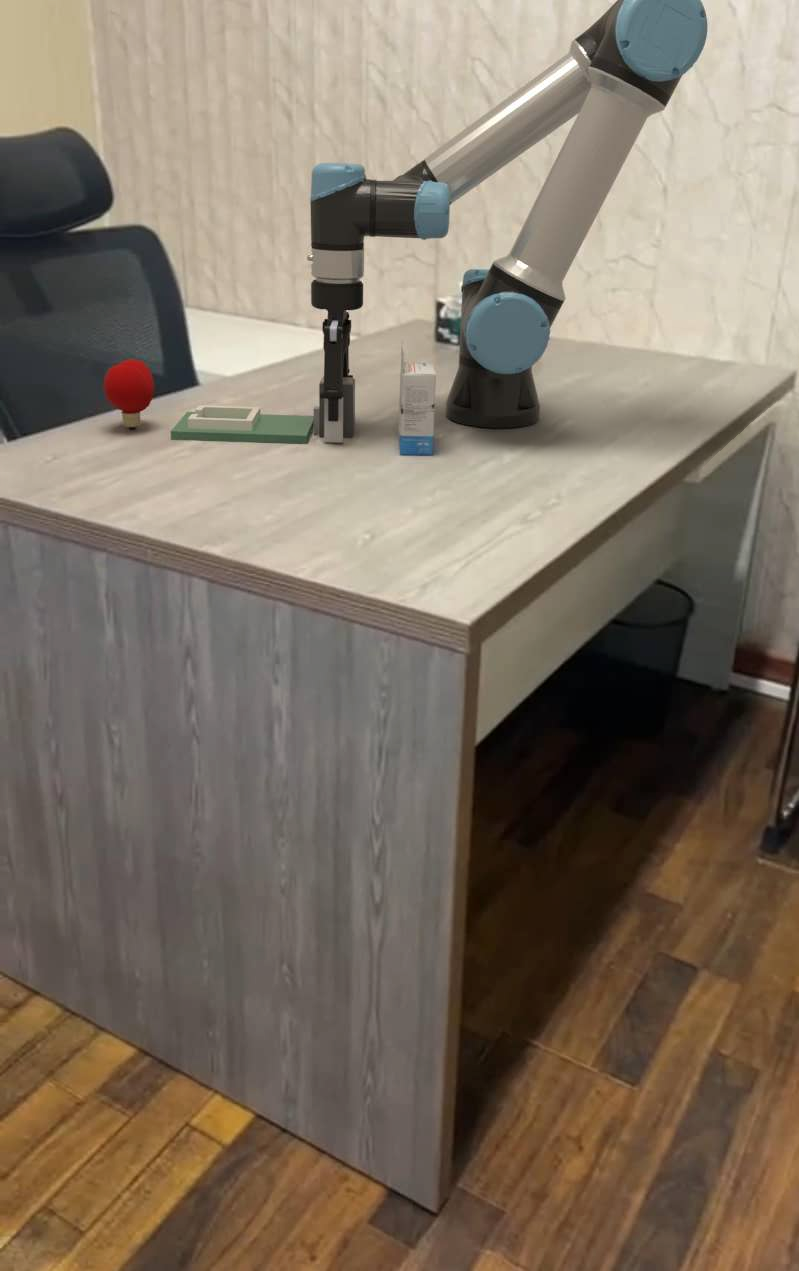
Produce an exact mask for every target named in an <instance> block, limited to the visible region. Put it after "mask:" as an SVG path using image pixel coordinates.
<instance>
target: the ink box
mask: <svg viewBox="0 0 799 1271" xmlns="http://www.w3.org/2000/svg"><path fill="white" fill-rule="evenodd" d="M405 352H406V351H405V345H404V341H401V353H400V354H401V356H400V357H401V358H400V375H399V376H400V378H399V379H400V380H399V381H400V382H399V405H398V408H399V410H398V411H399V412H398V435H397V436H398V441H397V442H398V451H399V455H401V456H402V455H404V456H406V455H409V456H410V455H411V456H433V454H434V435H435V433H434V430H435V412H436V411H435V408H436V387H437V386H436V384H437V381H436V379H437V374H436V368H435V365H434V363H433V362H418V361H417V362H416V361H415V362H410V361H409V362H406V361H405V356H406V355H405Z"/></svg>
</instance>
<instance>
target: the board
mask: <svg viewBox="0 0 799 1271" xmlns="http://www.w3.org/2000/svg"><path fill="white" fill-rule="evenodd" d="M313 430H314V415H295V414H293V415H292V414H264V413H261V407H260V406H258V407H257V406H234V405H233V406H231V405H229V406H227V405H204V404H203V405H198V406H197V407H196V408H195V409H194V411H186V413H184V415H183V416H182V417H181V419H179V421H178V422H177V423H176V425H175V426H174V427H173V428H172V429H171V430H170V440H183V441H212V442H213V441H214V442H215V441H216V442H218V441H219V442H246V443H268V444H269V443H273V444H299V445H307V444H308V442H309V440H310V436H311V433H313Z"/></svg>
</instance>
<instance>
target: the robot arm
mask: <svg viewBox="0 0 799 1271" xmlns="http://www.w3.org/2000/svg"><path fill="white" fill-rule="evenodd" d="M706 13H707V12H706V9H705V6H704V4H703V2H702V0H616V1H615V2H614V3H613V4H612V5H611V6H610V7H609V9H607V10H606V11H605V12H604V13H603V15H602V16H600V18H599V19H597V20H596V21H595V22H594V23H593V24H592V25H591V26H590V27H589V28H587V29H586V30H585V31H584V32H583V33H581V34H580V35H578V37H575V39H573V40H572V41H571V43H570V48H569V52H567V53H566V54H565V55H564V56H562V57H561V58H560V59H558V60H557V61H555V62H554V63H553V64H551V65H550V66H549V67H548V68H546V69H544V70H543V71H542V72H540V73H539V74H537V76H535V77H534V78H533V79H531V80H530V81H528V82H527V83H525V85H523V86H521V87H520V88H519V89H518V90H516V91H515V92H514V93H512V94H511V95H508V97H507V98H505V99H504V100H503V101H501V102H500V103H498V104H497V105H496V106H495V107H493V108H491V110H489V111H487V112H486V113H485V114H484V115H482V116H481V117H480V118H478V119H477V120H475V121H474V122H472V123H471V124H470V125H468V126H467V127H466V128H464V129H463V130H462V131H461V132H459V133H458V134H456V135H455V136H454V137H452V138H451V139H449V140H448V141H447V142H446V143H444V144H443V145H441V146H440V147H439V148H437V149H436V150H434V152H432V153H430V154H429V155H428V156H426V157H425V158H424V159H422V161H420V162H419V163H417V164H416V165H414V166H413V167H411V168H410V169H409V170H407V171H406V172H404V174H401V175H398V176H397V177H396V178H394V179H393V180H377V179H370V178H367V175H366V169H365V166H363V165H362V164H360V163H347V162H346V163H345V162H344V163H342V162H341V163H340V162H323V163H318V164H316V165H315V166H314V167H313V169H312V171H311V180H310V181H311V184H310V198H309V199H310V200H309V201H310V204H309V205H310V246H311V253H307V256H306V260H307V261H308V262H312V263H311V270H310V271H311V276H312V277H314V278H315V279H313V280H312V281H311V283H310V301H311V302H310V303H311V306H312V307H313V308H315V309H317V310H318V309H319V310H326V311H327V318H324V319H323V321H322V330H321V331H322V333H323V334H322V335H323V345H322V348H323V352H324V357H323V358H324V360H323V361H324V362H323V363H324V364H323V376H324V390H323V393H319V392H318V394H319V397H320V398H323V399H324V437H323V441H324V443H338V444H339V443H341V444H342V443H343V442H344V438H343V398H342V397H343V393H342V383H343V377H353V378H354V375H351V374H350V368H349V366H350V365H349V364H350V363H349V362H350V360H349V359H350V358H349V354H350V352H349V350H350V349H349V347H350V344H351V332H352V319H350V313H349V311H355V310H356V311H357V310H360V309H362V308H363V305H364V283H363V282H362V281H361V280H360V279H362V278H363V277H364V276H365V243H364V242H365V237H370V238H375V237H382V238H401V239H403V238H404V239H406V238H407V239H421V240H422V241H426V240H429V239H443V238H445V237H446V236H447V235H448V233H449V227H450V211H451V210H450V208H451V205H452V204H453V203H455V202H456V201H457V200H459V199H460V198H462V197H463V196H464V195H466V194H468V193H469V192H470V191H471V190H473V189H474V188H475V187H477V186H478V185H480V184H481V183H483V182H484V181H485V180H487V179H488V178H490V177H491V176H492V175H494V174H496V173H497V172H498V171H500V170H501V169H502V168H504V167H505V166H507V165H508V164H510V163H511V162H513V160H515V159H517V158H518V157H519V156H520V155H521V156H522V154H524V153H525V152H527V151H528V150H529V149H531V148H532V147H534V146H536V145H537V143H539V142H540V141H542V140H543V139H545V138H546V137H548V136H549V135H551V134H552V133H553V132H554V131H556V130H557V129H558V128H560V127H562V126H563V125H564V124H566V123H567V122H568V121H570V120H571V119H573V118H574V117H575V120H574V122H573V124H572V126H571V128H570V130H569V132H568V135H566V138H565V140H564V142H563V144H562V147H561V148H560V151H559V152H558V154H557V157H556V159H555V160H554V162H553V163H552V166H551V168H550V171H549V173H548V174H547V177H546V178H545V181H544V183H543V185H542V187H541V189H540V191H539V193H538V195H537V197H536V199H535V200H534V203H533V205H532V207H531V209H530V211H529V213H528V215H527V217H526V219H525V221H524V223H523V225H522V227H521V230H520V231H519V233H518V235H517V237H516V239H515V241H514V244H513V245H512V247H511V249H510V252H509V253H508V254H507V255H506V256H502V257H501V258H498V259H495V260H493V262H492V263H491V266H490V267H489V269H487V268H485V269H483V268H482V269H481V268H479V269H478V268H477V269H476V268H475V269H474V268H472V269H468V270H466V271H465V272H464V274H463V276H462V278H463V279H462V284H461V286H460V291H461V306H460V307H461V311H460V328H459V329H460V332H459V333H460V334H459V335H460V336H459V357H458V368H457V372H456V374H455V377H454V380H453V382H452V384H451V387H450V390H449V393H448V396H447V398H446V401H445V402H446V403H445V416H446V417H448V418H447V419H449V420H451V421H453V422H456V423H458V424H461V425H466V426H473V427H479V428H480V427H481V428H493V429H494V428H497V429H498V428H500V429H506V428H509V429H510V428H520V427H526V426H530V425H533V424H535V423H537V422H539V420H540V413H541V412H540V410H541V405H540V400H539V397H538V392H537V391H538V390H537V388H536V384H535V379H534V375H533V366H534V365H535V364H536V363H537V362H538V361H540V359H541V357H542V356H543V354H544V353H545V351H546V349H547V347H548V344H549V340H550V334H551V328H552V325H553V324H554V322H555V320H556V318H557V316H558V314H559V313H560V310H561V308H562V306H563V304H564V302H565V301H566V298H567V297H566V294H565V290H564V286H563V282H564V280H565V278H566V275H567V273H568V272H569V271H570V268H571V266H572V264H573V262H574V260H575V258H576V257H577V255H578V252H579V250H580V248H581V246H582V245H583V243H584V241H585V239H586V237H587V235H588V234H589V232H590V229H591V227H592V225H593V223H594V222H595V220H596V218H597V216H598V214H599V212H600V209H602V206H603V204H604V202H605V200H606V198H607V196H608V195H609V192H610V191H611V189H612V187H613V185H614V183H615V181H616V179H617V178H618V175H619V174H620V171H621V170H622V167H623V165H624V164H625V162H626V160H627V158H628V156H629V154H630V152H631V150H632V148H633V147H634V145H635V143H636V141H637V139H638V137H639V135H640V133H641V131H642V129H643V128H644V125H645V123H646V122H647V119H648V118H650V117H651V116H653V115H655V114H658V113H660V112H662V111H665V109H666V107H667V105H668V104H669V102H670V99H671V98H672V97H673V94H674V92H675V90H676V89H677V86H678V84H679V83H680V81H681V79H682V77H683V75H685V74H686V73H688V72H689V71H690V69H691V68H693V67H694V65H695V63H697V61H698V59H699V58H700V56H701V55H702V51H703V50H704V47H705V44H706V42H707V41H706V40H707V37H708V25H709V24H708V18H707V14H706ZM330 387H333V388H337V389H329V388H330Z"/></svg>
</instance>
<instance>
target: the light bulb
mask: <svg viewBox="0 0 799 1271" xmlns="http://www.w3.org/2000/svg"><path fill="white" fill-rule="evenodd" d="M103 391H104V395H105V397H106V400H107V401H108V403H109V404H111V405H112V406H113V407H114V408H116V409H117V410H119V411H121V415H122V416H121V417H122V418H121V419H122V425H123V426H125V428H127V429H129V430H132V431H133V430H135V429H137V427H139V426H140V425H141V421H142V420H141V412H143V411H144V410H146V409H147V408H149V406H150V404H151V402H152V399H153V397H154V391H155V380H154V376H153V374H152V372H151V370H150V368H149V367H148V366H147V365H146V364H145V362H143V361H141V360H138V359H127V360H126V359H125V360H123V361H121V362H120V363H119V364H115V365H113V366H111V367H110V368H109V369H108V371H107V372H106V374H105V377H104V380H103Z"/></svg>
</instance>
